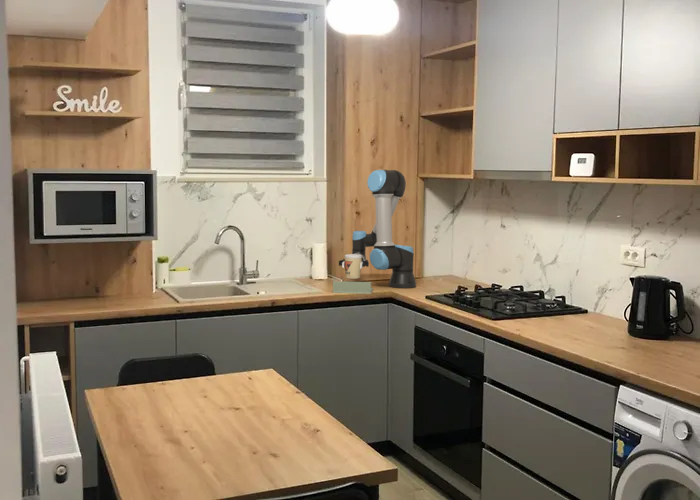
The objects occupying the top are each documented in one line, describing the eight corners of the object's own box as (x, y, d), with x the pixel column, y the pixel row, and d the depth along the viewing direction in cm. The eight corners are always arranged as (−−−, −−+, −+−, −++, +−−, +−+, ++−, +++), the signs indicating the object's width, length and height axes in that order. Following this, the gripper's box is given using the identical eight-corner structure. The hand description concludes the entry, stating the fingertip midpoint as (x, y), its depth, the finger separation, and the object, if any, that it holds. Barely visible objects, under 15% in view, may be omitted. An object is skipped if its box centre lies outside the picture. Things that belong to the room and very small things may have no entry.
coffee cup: (341, 276, 403) (341, 254, 402) (356, 275, 407) (357, 253, 406) (348, 279, 395) (349, 256, 393) (364, 278, 398) (365, 255, 397)
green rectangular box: (373, 289, 407) (373, 278, 406) (370, 293, 393) (370, 282, 392) (336, 289, 409) (336, 278, 408) (332, 292, 395) (333, 281, 395)
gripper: (375, 267, 417) (372, 273, 395) (337, 266, 419) (331, 271, 397) (376, 254, 416) (372, 259, 394) (337, 253, 419) (331, 257, 396)
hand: (351, 265), depth 395 cm, fingers closed on coffee cup, 9 cm apart
